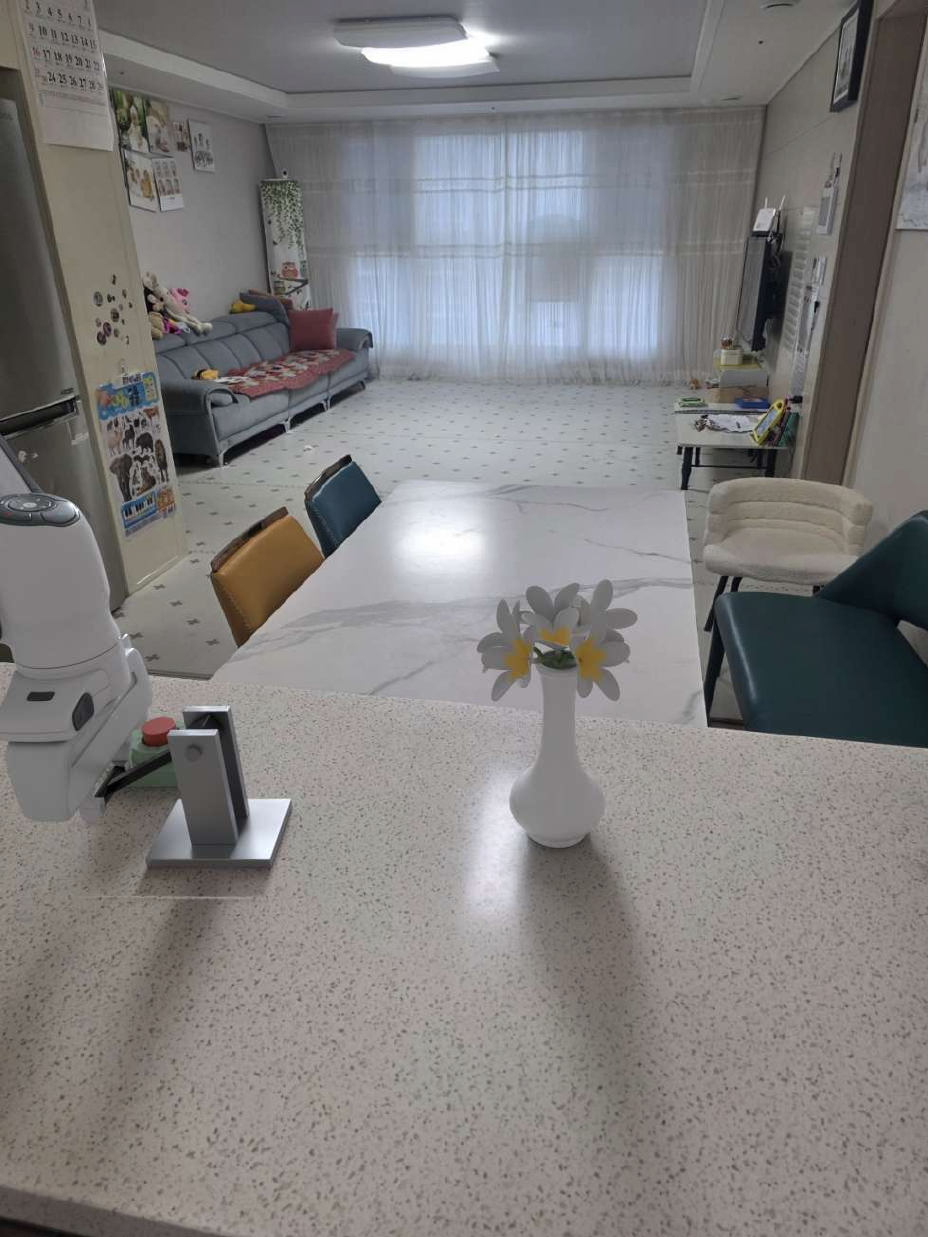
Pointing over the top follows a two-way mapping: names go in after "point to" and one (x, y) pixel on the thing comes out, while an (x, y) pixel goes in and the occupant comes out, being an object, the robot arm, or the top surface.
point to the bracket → (215, 804)
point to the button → (158, 731)
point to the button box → (143, 752)
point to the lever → (148, 764)
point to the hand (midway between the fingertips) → (109, 796)
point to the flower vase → (558, 700)
